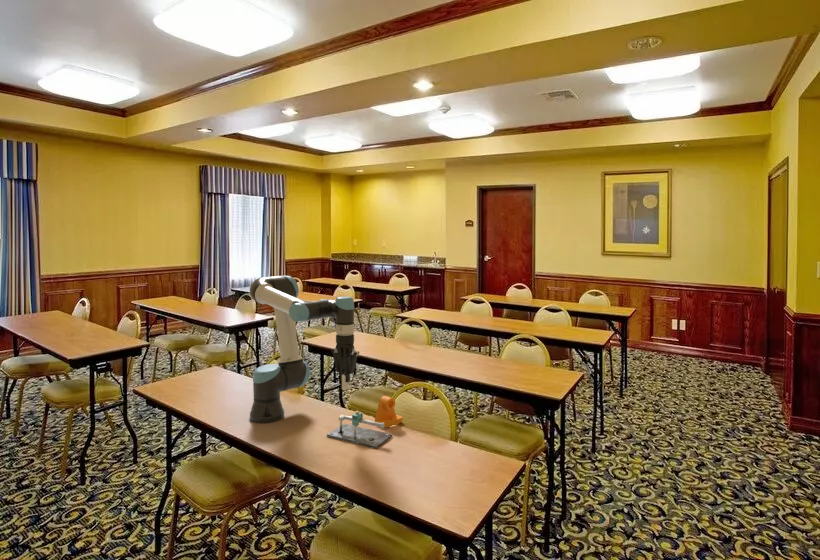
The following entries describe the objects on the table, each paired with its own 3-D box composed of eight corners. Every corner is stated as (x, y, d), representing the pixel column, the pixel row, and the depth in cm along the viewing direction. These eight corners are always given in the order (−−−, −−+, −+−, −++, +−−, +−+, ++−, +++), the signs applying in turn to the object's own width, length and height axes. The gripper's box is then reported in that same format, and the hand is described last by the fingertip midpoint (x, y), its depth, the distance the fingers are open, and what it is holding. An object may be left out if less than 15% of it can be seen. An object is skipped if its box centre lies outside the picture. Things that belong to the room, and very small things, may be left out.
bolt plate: (326, 436, 198) (326, 433, 198) (344, 425, 210) (344, 423, 210) (376, 448, 188) (376, 445, 188) (392, 436, 199) (392, 433, 199)
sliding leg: (351, 434, 197) (352, 412, 197) (357, 430, 201) (357, 409, 201) (356, 435, 196) (356, 413, 196) (362, 431, 200) (362, 410, 199)
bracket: (385, 429, 207) (385, 402, 206) (374, 424, 212) (374, 398, 211) (403, 423, 214) (403, 397, 213) (392, 418, 219) (392, 393, 218)
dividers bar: (337, 432, 201) (337, 416, 200) (342, 429, 204) (342, 413, 203) (380, 442, 191) (380, 425, 191) (384, 439, 194) (384, 422, 194)
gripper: (326, 333, 198) (327, 389, 200) (353, 337, 192) (353, 394, 194) (337, 330, 205) (337, 384, 206) (363, 333, 199) (363, 389, 201)
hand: (345, 389), depth 200 cm, fingers closed
